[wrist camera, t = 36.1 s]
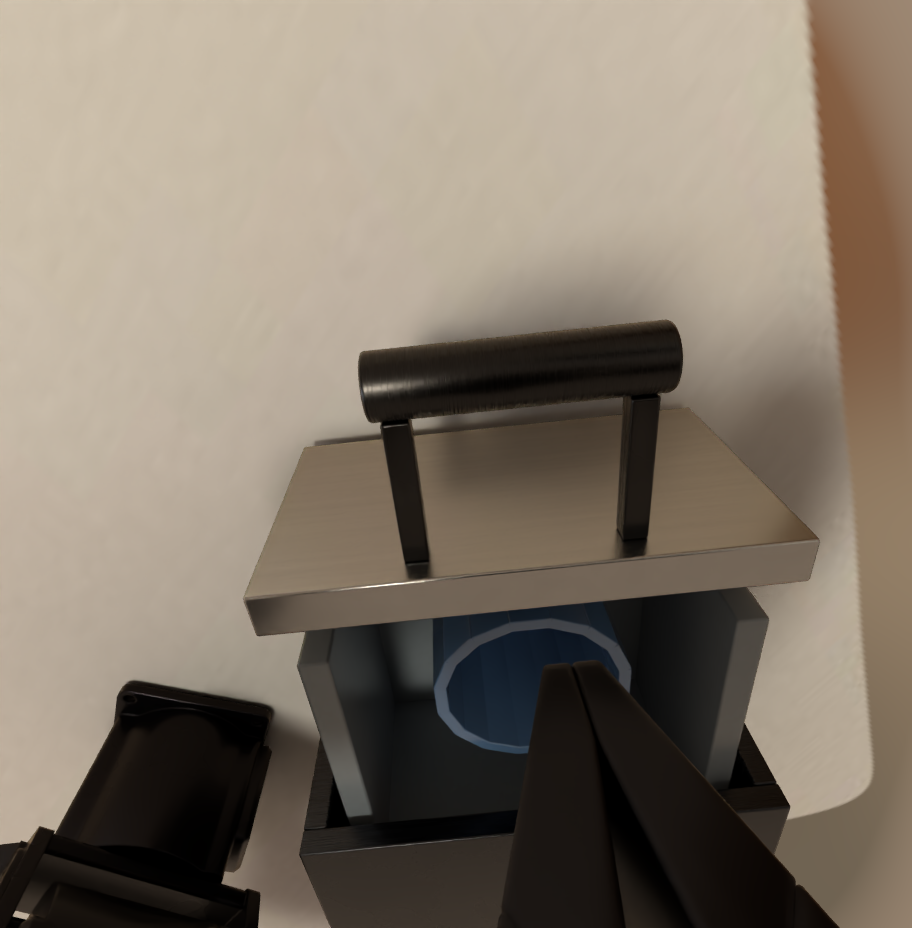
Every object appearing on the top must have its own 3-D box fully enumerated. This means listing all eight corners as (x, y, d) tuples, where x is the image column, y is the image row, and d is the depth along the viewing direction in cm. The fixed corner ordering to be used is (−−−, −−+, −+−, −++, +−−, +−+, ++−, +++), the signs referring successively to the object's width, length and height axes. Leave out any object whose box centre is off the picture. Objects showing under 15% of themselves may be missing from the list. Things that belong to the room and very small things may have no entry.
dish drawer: (265, 295, 16) (164, 390, 10) (707, 249, 16) (885, 314, 10) (367, 696, 25) (347, 883, 19) (658, 667, 25) (736, 846, 18)
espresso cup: (424, 507, 19) (423, 631, 14) (584, 490, 19) (637, 609, 14) (441, 623, 21) (445, 762, 17) (581, 609, 21) (625, 744, 17)
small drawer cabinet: (340, 623, 24) (298, 855, 16) (672, 589, 24) (791, 807, 16) (388, 806, 30) (375, 1033, 23) (648, 780, 30) (724, 1000, 22)
